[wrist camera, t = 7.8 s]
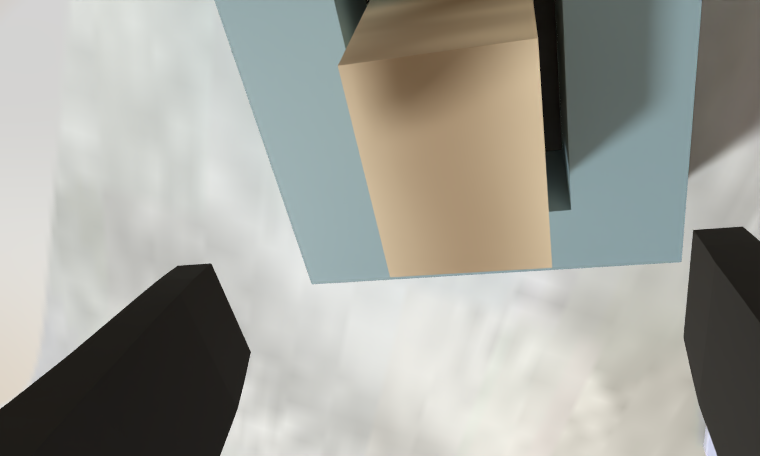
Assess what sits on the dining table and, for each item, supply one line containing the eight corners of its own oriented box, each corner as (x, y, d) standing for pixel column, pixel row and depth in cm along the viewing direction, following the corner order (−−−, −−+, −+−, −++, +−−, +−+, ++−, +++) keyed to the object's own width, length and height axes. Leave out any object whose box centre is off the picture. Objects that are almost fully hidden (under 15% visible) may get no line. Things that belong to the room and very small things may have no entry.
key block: (525, -53, 16) (538, 37, 11) (538, 131, 18) (552, 267, 14) (383, -29, 16) (337, 65, 12) (416, 144, 19) (390, 277, 15)
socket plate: (678, -206, 13) (717, -194, 11) (658, 196, 19) (681, 262, 17) (233, -110, 16) (185, -83, 13) (332, 223, 21) (311, 284, 19)
